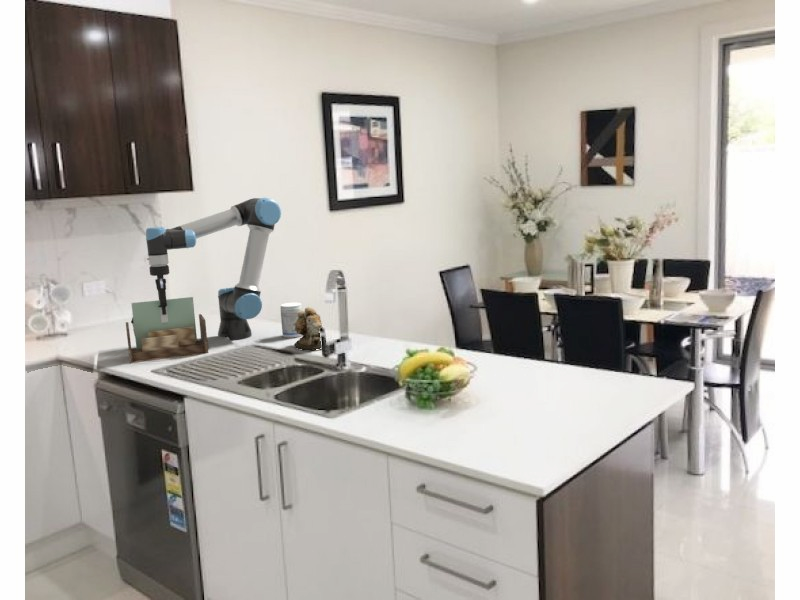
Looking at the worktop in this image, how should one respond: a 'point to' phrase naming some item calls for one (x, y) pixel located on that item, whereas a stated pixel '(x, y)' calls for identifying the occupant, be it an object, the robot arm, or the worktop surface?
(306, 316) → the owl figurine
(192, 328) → the offcut oak
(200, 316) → the rack
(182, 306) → the sheet
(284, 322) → the supplement tub
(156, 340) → the offcut birch
